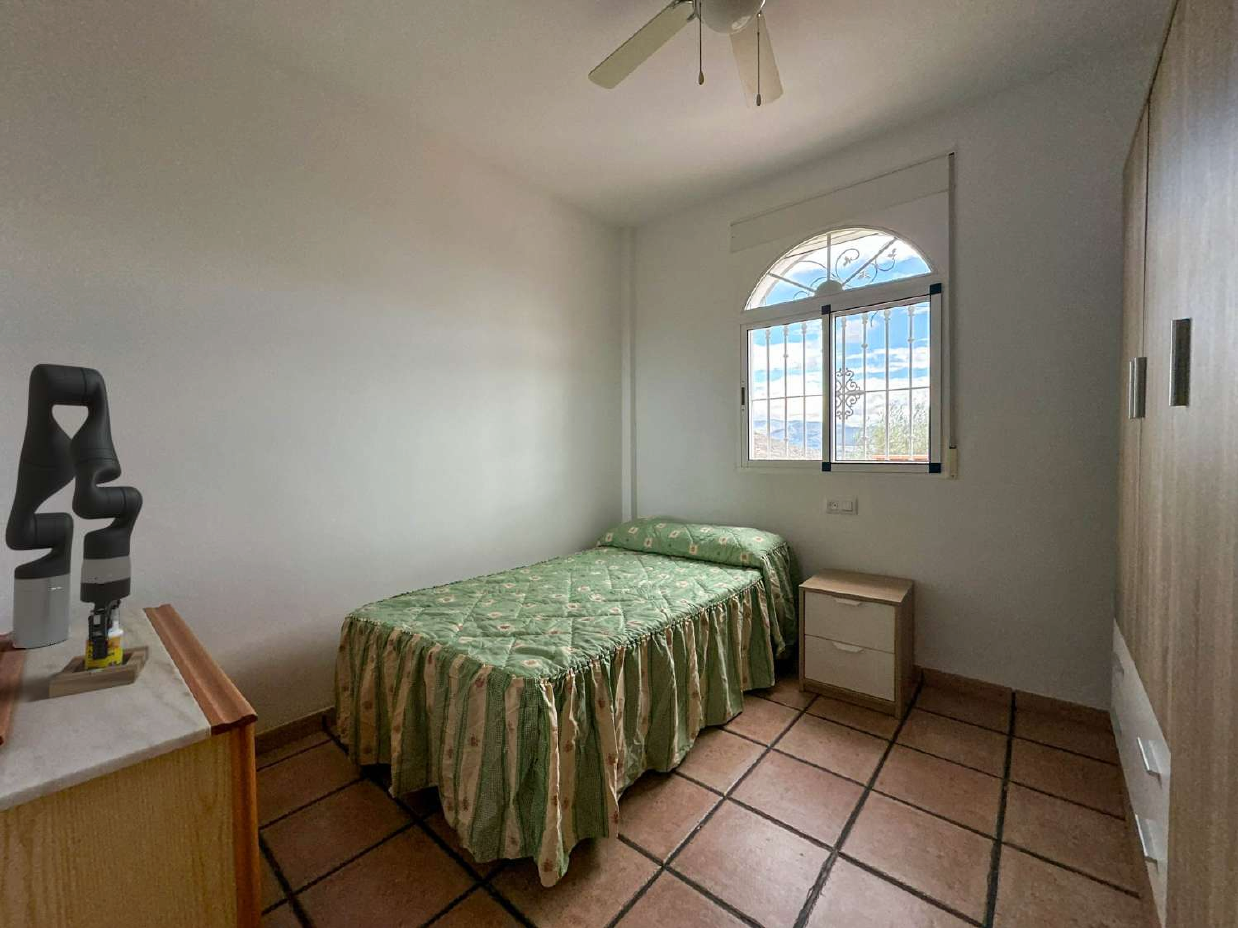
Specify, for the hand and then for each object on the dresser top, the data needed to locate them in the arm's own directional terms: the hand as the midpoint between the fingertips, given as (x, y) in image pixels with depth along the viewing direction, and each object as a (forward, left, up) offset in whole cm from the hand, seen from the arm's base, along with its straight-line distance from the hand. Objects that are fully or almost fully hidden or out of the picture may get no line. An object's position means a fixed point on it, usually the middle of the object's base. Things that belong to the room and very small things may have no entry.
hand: (104, 653), depth 104 cm
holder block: (0, 0, -5) cm, 5 cm away
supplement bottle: (0, 0, -4) cm, 4 cm away
